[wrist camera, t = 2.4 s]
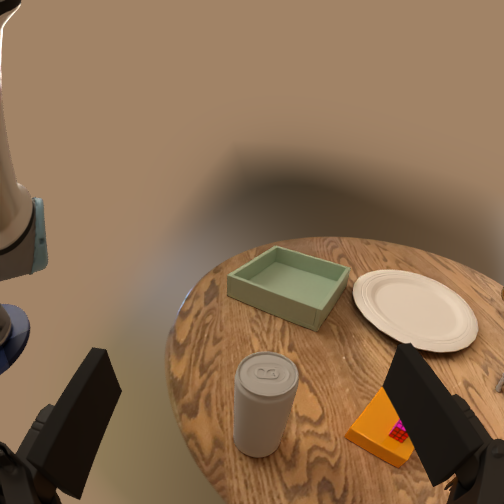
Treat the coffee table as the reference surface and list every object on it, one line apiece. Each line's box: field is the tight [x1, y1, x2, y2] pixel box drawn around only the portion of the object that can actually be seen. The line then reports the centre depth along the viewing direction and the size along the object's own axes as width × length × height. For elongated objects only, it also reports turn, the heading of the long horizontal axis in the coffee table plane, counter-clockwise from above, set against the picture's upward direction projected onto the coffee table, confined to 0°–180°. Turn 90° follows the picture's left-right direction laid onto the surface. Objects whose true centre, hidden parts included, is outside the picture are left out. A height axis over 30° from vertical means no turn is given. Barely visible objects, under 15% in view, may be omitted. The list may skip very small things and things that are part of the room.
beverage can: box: [234, 352, 299, 457], centre depth 21 cm, size 5×5×12 cm
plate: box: [352, 270, 478, 353], centre depth 46 cm, size 29×29×2 cm
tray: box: [227, 246, 351, 332], centre depth 51 cm, size 18×18×4 cm
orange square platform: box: [344, 387, 414, 468], centre depth 23 cm, size 8×8×4 cm
